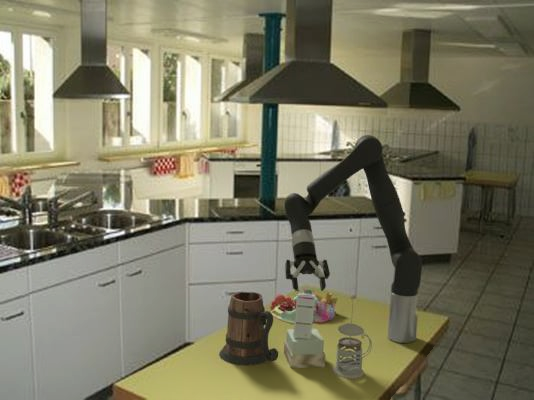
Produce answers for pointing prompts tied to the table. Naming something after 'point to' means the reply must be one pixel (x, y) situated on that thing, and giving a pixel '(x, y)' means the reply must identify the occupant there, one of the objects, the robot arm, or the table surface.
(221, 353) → the tankard
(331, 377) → the table surface
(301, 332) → the syrup box
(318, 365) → the tower bottom block
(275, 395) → the table surface
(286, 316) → the candy dessert plate
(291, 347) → the tower top block
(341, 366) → the french press
